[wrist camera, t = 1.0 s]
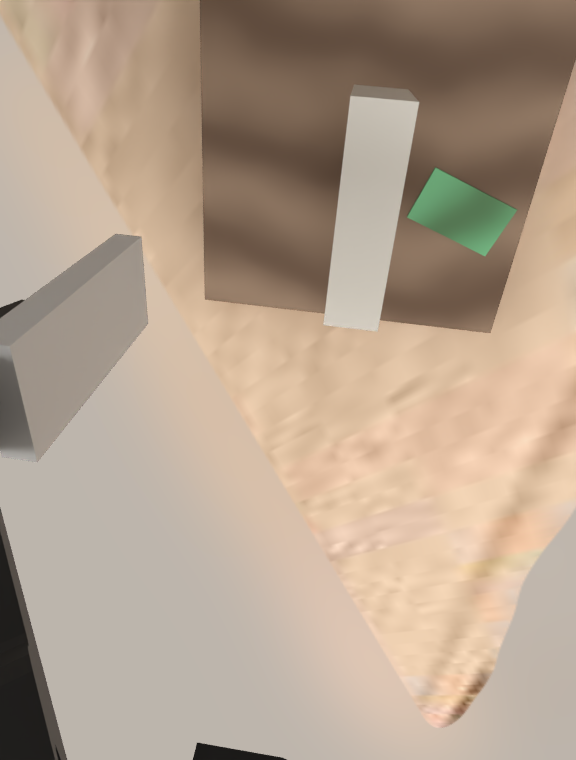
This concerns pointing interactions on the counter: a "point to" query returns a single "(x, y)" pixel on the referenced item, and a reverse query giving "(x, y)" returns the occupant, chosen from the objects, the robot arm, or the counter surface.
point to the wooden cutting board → (328, 132)
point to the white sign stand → (369, 203)
